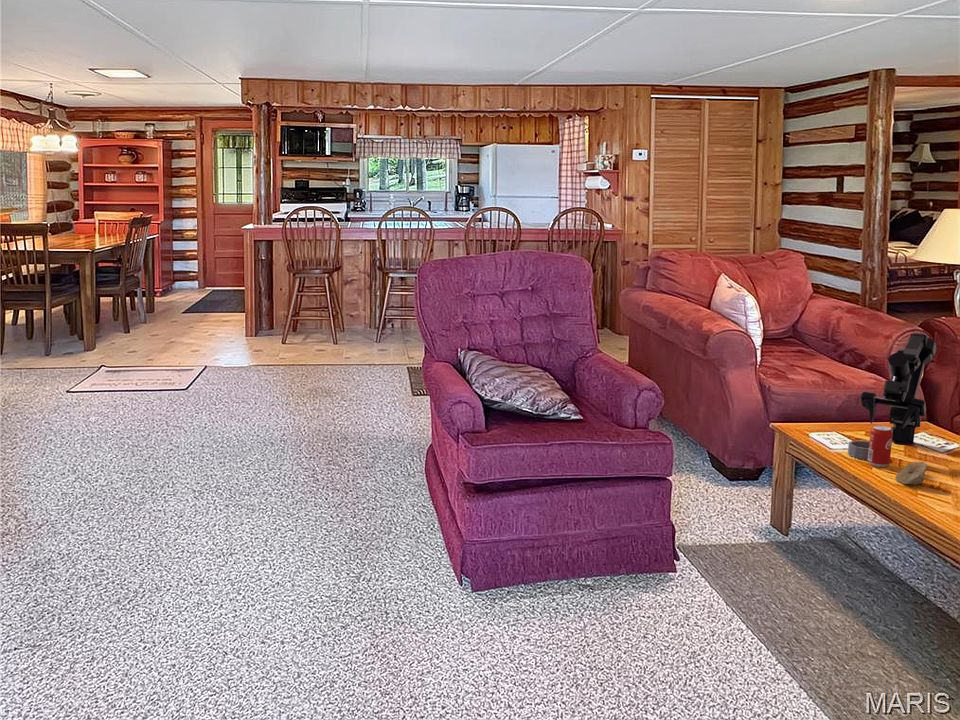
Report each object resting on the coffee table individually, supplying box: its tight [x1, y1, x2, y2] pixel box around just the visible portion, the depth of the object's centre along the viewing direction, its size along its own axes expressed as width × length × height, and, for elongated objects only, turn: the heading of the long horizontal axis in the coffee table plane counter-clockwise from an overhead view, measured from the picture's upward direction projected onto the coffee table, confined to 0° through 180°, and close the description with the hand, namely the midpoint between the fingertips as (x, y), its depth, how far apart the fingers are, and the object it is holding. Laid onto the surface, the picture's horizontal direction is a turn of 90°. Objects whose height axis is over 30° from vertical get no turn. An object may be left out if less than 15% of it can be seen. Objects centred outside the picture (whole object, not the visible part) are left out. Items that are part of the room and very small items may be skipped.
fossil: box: [895, 461, 928, 486], centre depth 263 cm, size 9×4×10 cm
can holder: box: [847, 440, 870, 461], centre depth 289 cm, size 9×9×4 cm
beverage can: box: [867, 425, 893, 468], centre depth 280 cm, size 6×6×12 cm
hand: (886, 425), depth 283 cm, fingers open, 9 cm apart
